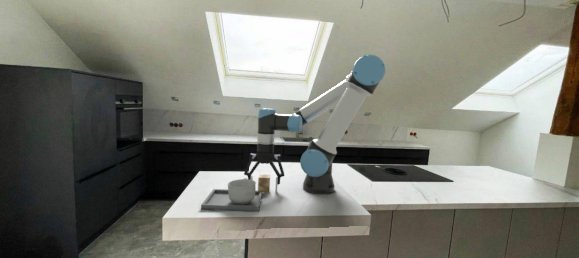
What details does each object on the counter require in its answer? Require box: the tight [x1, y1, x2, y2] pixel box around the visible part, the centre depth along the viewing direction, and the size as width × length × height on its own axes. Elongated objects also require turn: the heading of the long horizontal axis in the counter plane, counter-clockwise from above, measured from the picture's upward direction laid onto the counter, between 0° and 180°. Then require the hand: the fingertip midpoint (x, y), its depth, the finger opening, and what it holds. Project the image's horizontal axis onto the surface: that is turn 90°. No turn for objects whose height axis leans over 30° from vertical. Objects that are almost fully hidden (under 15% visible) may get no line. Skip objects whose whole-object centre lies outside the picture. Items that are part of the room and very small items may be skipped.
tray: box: [200, 188, 263, 212], centre depth 105 cm, size 21×18×2 cm
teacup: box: [227, 177, 257, 205], centre depth 105 cm, size 14×11×8 cm
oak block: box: [257, 174, 271, 194], centre depth 119 cm, size 5×5×7 cm
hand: (263, 190), depth 119 cm, fingers open, 11 cm apart
